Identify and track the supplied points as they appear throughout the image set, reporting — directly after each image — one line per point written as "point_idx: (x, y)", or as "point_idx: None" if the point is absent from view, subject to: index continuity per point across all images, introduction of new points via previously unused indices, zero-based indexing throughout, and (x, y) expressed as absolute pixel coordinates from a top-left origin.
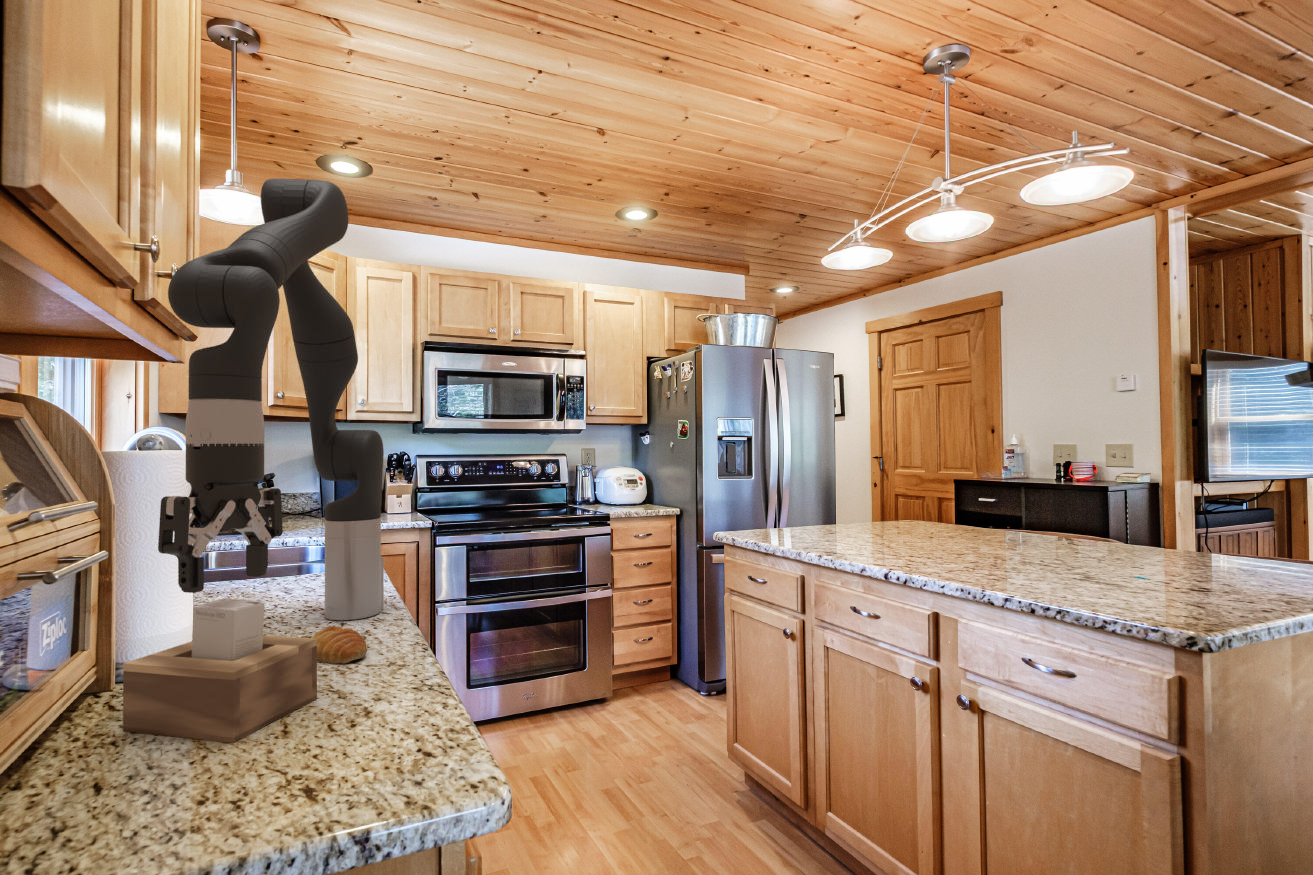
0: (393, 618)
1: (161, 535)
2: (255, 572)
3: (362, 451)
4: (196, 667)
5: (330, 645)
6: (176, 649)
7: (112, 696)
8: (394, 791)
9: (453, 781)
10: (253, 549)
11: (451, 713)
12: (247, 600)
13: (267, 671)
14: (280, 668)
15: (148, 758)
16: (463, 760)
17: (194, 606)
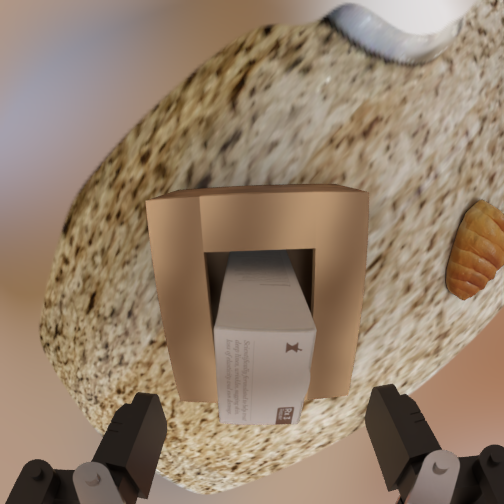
0: None
1: (14, 502)
2: (370, 414)
3: None
4: (174, 344)
5: (467, 260)
6: (241, 216)
7: (273, 47)
8: (184, 468)
9: (207, 483)
10: (394, 464)
11: (307, 454)
12: (301, 394)
13: None
14: None
15: (140, 294)
16: (233, 481)
17: (216, 329)
